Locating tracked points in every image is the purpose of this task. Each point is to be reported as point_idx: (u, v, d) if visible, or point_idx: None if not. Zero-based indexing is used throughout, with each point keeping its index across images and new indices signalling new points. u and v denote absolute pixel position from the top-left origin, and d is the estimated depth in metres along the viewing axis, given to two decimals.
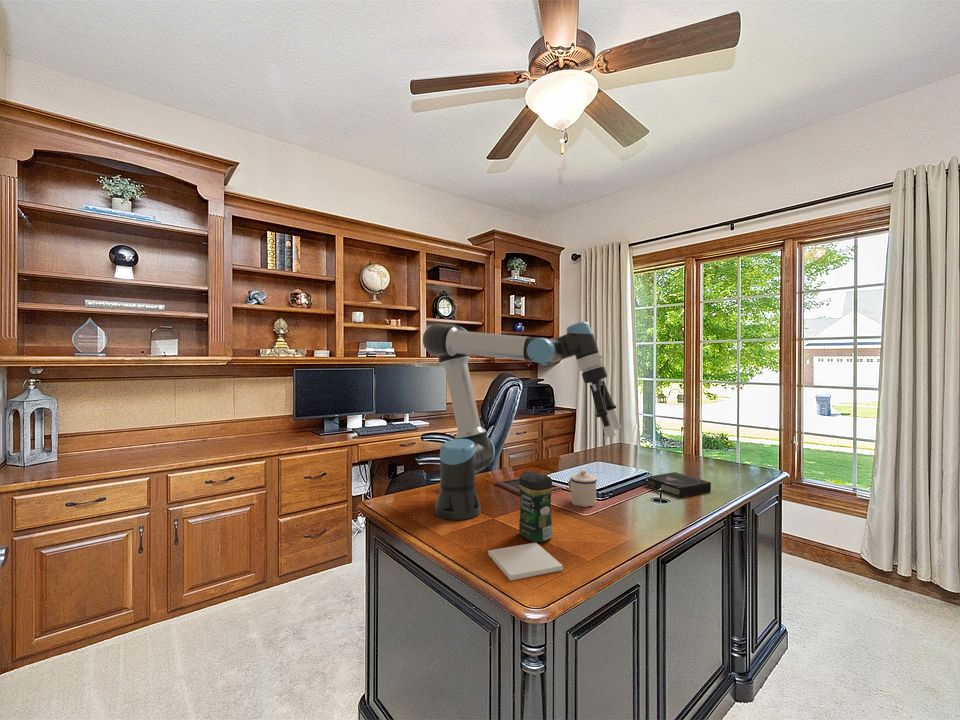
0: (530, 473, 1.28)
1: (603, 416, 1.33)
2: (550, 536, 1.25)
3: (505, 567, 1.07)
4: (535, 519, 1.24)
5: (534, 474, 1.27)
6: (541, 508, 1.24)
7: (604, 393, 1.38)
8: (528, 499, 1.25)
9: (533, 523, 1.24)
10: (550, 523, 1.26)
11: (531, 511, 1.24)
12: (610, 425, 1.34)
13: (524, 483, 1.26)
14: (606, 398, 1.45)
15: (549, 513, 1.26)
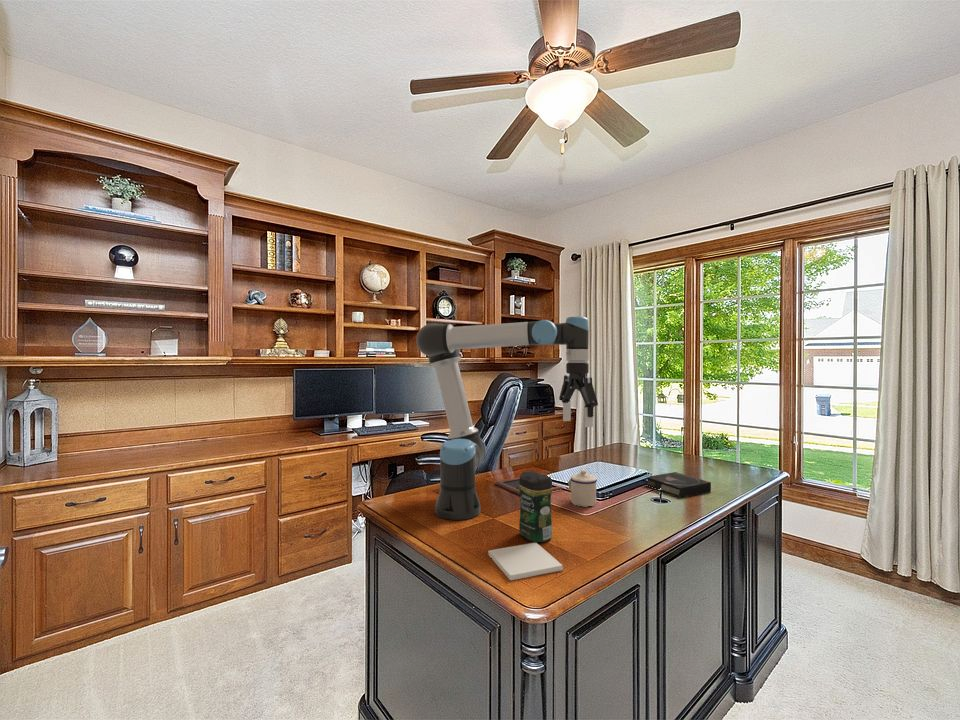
0: (530, 473, 1.28)
1: None
2: (550, 536, 1.25)
3: (505, 567, 1.07)
4: (535, 519, 1.24)
5: (534, 474, 1.27)
6: (541, 508, 1.24)
7: (567, 386, 1.55)
8: (528, 499, 1.25)
9: (533, 523, 1.24)
10: (550, 523, 1.26)
11: (531, 511, 1.24)
12: None
13: (524, 483, 1.26)
14: None
15: (549, 513, 1.26)
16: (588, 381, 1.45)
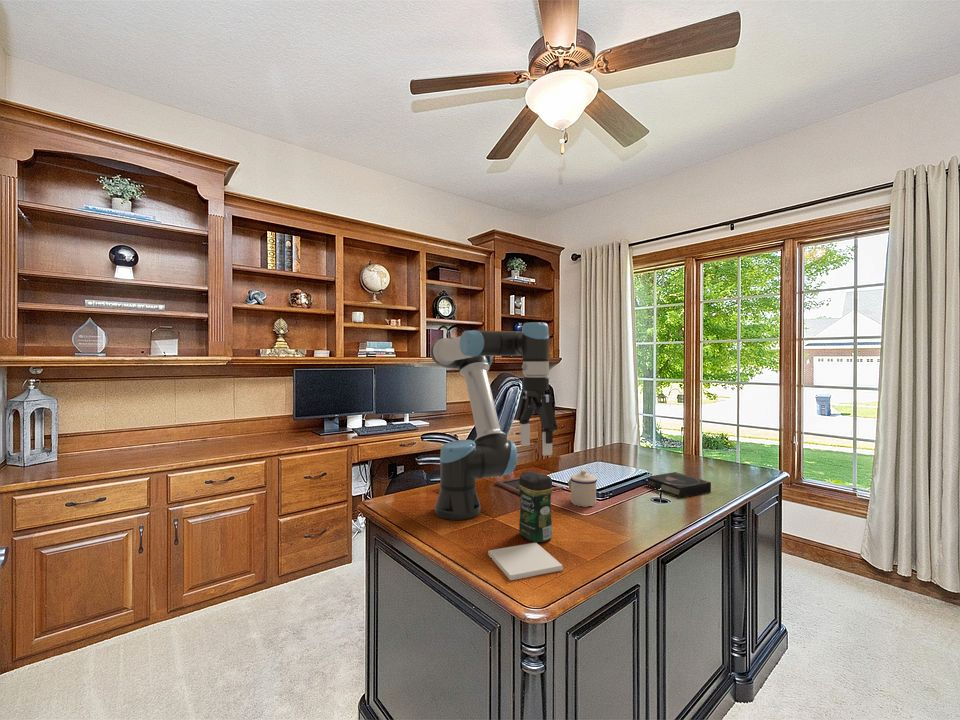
0: (530, 473, 1.28)
1: None
2: (550, 536, 1.25)
3: (505, 567, 1.07)
4: (535, 519, 1.24)
5: (534, 474, 1.27)
6: (541, 508, 1.24)
7: (525, 404, 1.30)
8: (528, 499, 1.25)
9: (533, 523, 1.24)
10: (550, 523, 1.26)
11: (531, 511, 1.24)
12: None
13: (524, 483, 1.26)
14: None
15: (549, 513, 1.26)
16: (546, 400, 1.21)
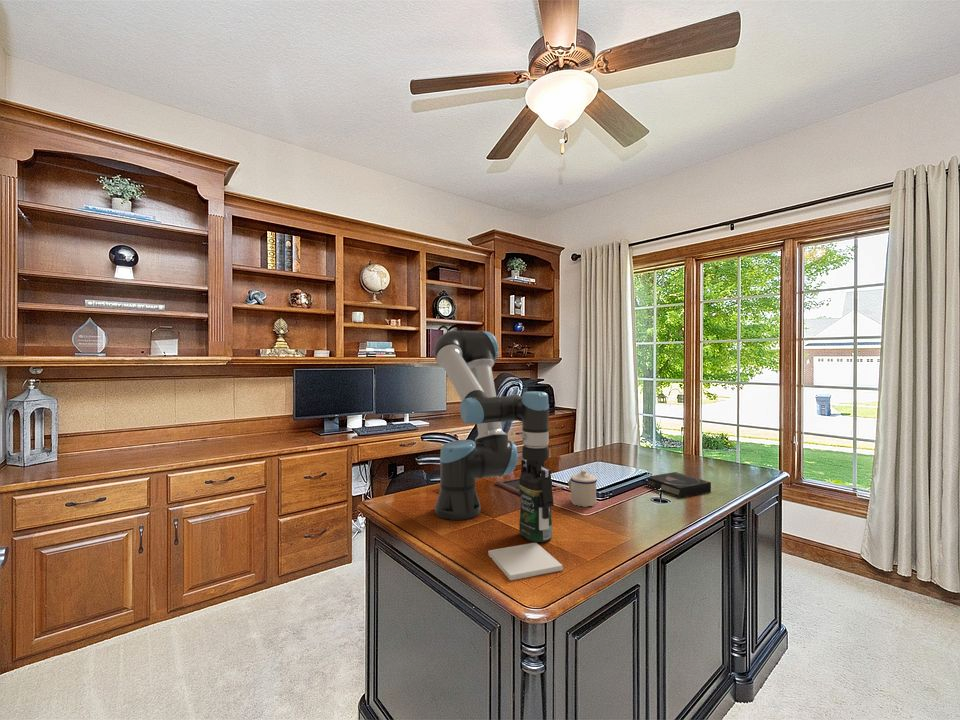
0: (530, 473, 1.28)
1: None
2: (550, 536, 1.25)
3: (505, 567, 1.07)
4: (535, 519, 1.24)
5: None
6: None
7: None
8: (528, 499, 1.25)
9: (533, 523, 1.24)
10: (551, 523, 1.26)
11: (531, 511, 1.24)
12: None
13: (524, 483, 1.26)
14: None
15: (549, 513, 1.26)
16: (546, 476, 1.22)
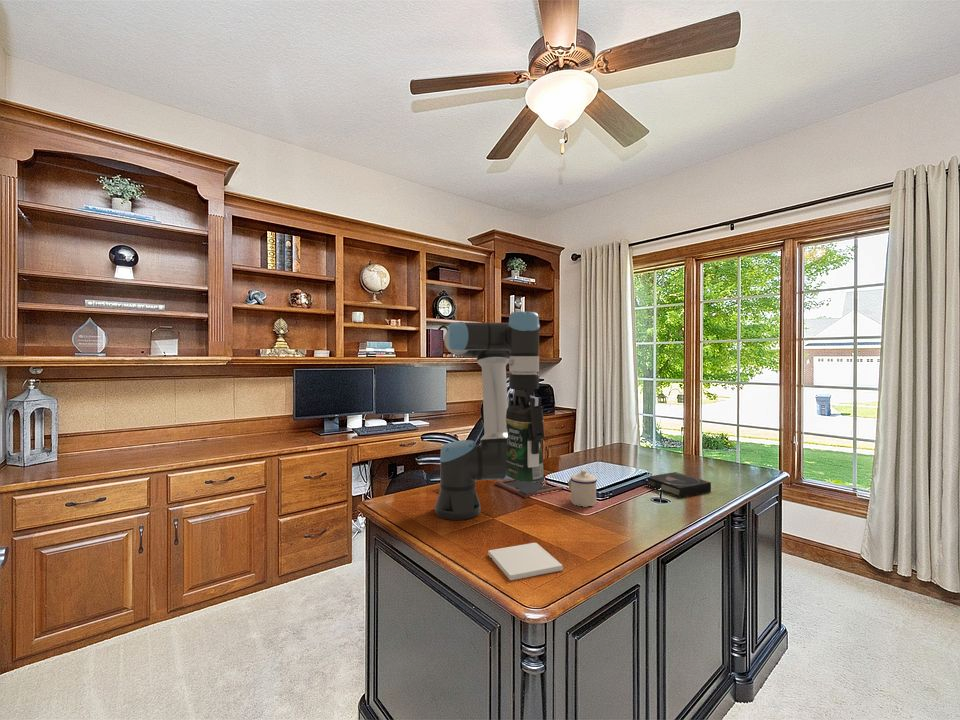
0: (518, 405, 1.12)
1: None
2: (541, 476, 1.09)
3: (505, 567, 1.07)
4: (523, 455, 1.08)
5: None
6: None
7: None
8: (516, 433, 1.08)
9: (521, 460, 1.08)
10: (541, 461, 1.10)
11: (519, 447, 1.08)
12: None
13: (511, 415, 1.10)
14: None
15: (540, 449, 1.09)
16: (535, 404, 1.05)
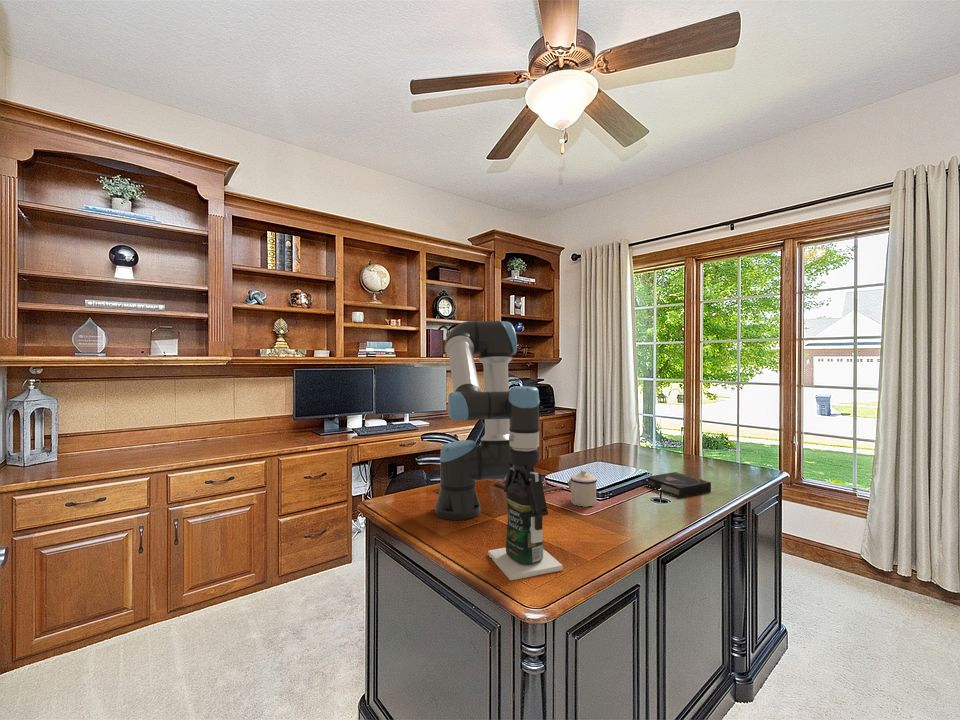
0: (519, 485, 1.12)
1: None
2: (541, 557, 1.10)
3: (505, 567, 1.07)
4: (523, 537, 1.08)
5: None
6: None
7: (512, 478, 1.15)
8: (516, 515, 1.09)
9: (521, 542, 1.08)
10: (541, 542, 1.10)
11: (519, 529, 1.09)
12: None
13: (512, 496, 1.10)
14: None
15: None
16: (536, 479, 1.06)
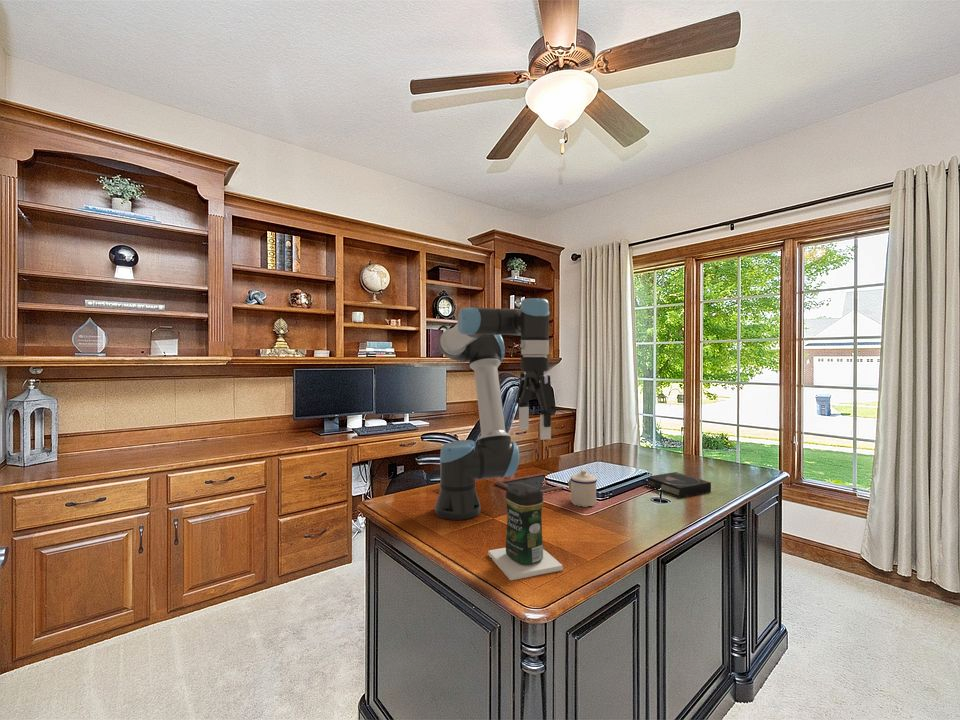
0: (518, 485, 1.13)
1: None
2: (541, 557, 1.10)
3: (505, 567, 1.07)
4: (523, 538, 1.08)
5: (522, 486, 1.11)
6: (530, 526, 1.08)
7: (523, 386, 1.23)
8: (516, 515, 1.09)
9: (521, 542, 1.08)
10: (541, 542, 1.10)
11: (518, 529, 1.09)
12: None
13: (511, 496, 1.10)
14: None
15: (539, 531, 1.10)
16: (545, 381, 1.13)
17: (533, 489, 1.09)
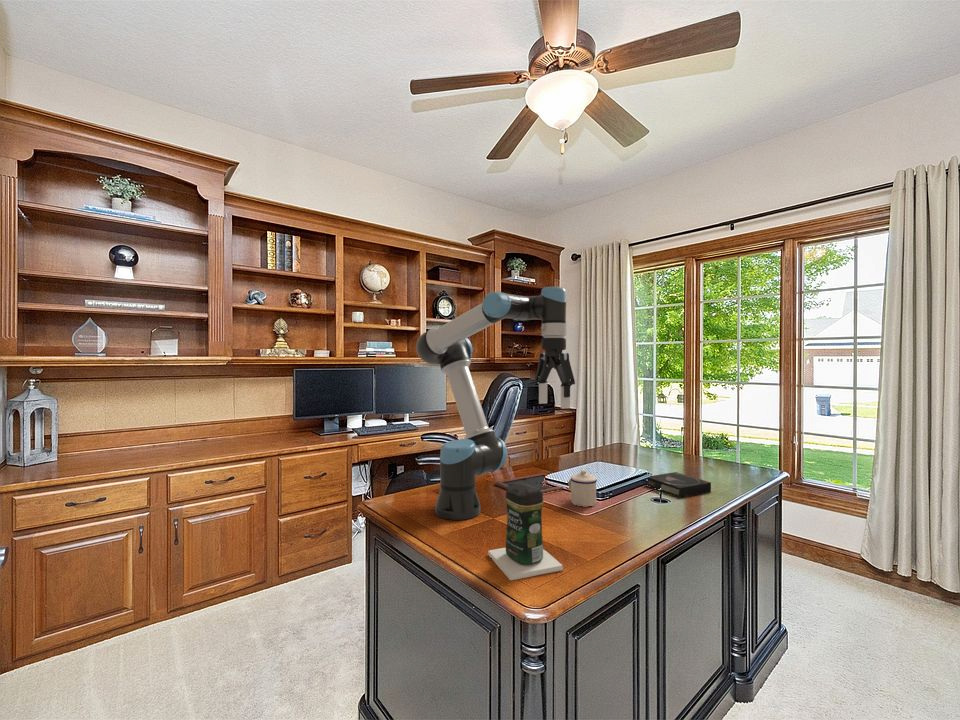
0: (518, 485, 1.13)
1: None
2: (541, 557, 1.10)
3: (505, 567, 1.07)
4: (523, 538, 1.08)
5: (522, 486, 1.11)
6: (530, 526, 1.08)
7: (543, 364, 1.40)
8: (516, 515, 1.09)
9: (521, 542, 1.08)
10: (541, 542, 1.10)
11: (518, 529, 1.09)
12: None
13: (511, 496, 1.10)
14: None
15: (539, 531, 1.10)
16: (564, 357, 1.31)
17: (533, 489, 1.09)
